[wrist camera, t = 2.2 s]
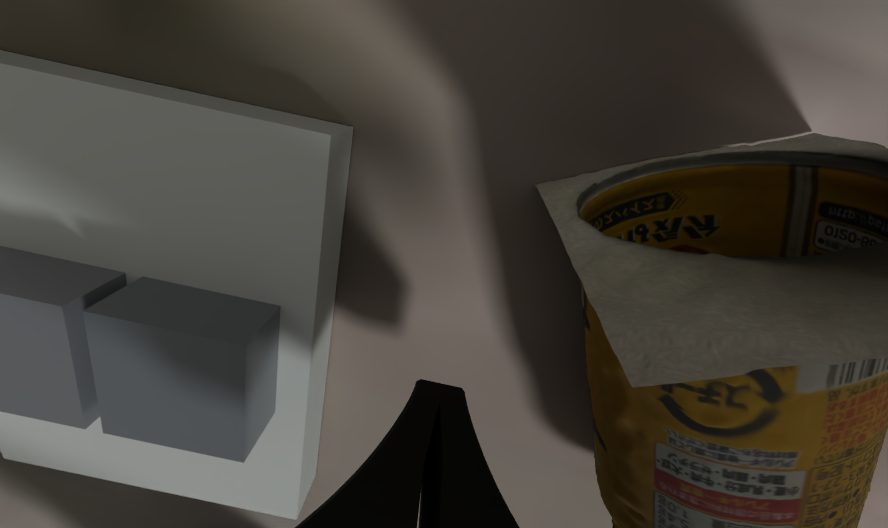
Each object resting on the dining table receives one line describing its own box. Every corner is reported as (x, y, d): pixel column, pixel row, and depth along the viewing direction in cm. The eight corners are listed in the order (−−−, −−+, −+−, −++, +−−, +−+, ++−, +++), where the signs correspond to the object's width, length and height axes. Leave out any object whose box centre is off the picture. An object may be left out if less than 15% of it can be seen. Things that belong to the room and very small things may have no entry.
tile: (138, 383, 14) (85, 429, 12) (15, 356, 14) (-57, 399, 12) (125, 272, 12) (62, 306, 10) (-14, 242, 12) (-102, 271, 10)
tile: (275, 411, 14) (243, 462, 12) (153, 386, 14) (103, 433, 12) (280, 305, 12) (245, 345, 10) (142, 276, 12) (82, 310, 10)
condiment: (533, 177, 12) (570, 468, 17) (632, 375, 4) (647, 798, 9) (816, 123, 11) (768, 450, 16) (1577, 265, 3) (1036, 808, 8)
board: (315, 474, 18) (296, 520, 16) (53, 418, 17) (3, 458, 16) (353, 127, 12) (330, 134, 10) (-32, 42, 12) (-126, 35, 10)
